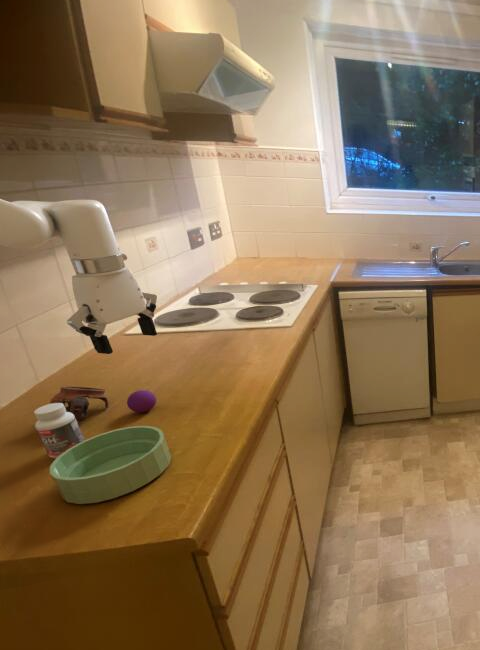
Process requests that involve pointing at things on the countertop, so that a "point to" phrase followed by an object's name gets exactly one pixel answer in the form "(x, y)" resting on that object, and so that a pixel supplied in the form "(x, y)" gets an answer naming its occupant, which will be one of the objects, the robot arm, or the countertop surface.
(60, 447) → the pill bottle
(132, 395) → the ball
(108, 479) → the bowl
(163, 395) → the countertop surface
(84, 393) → the brown arched stand
